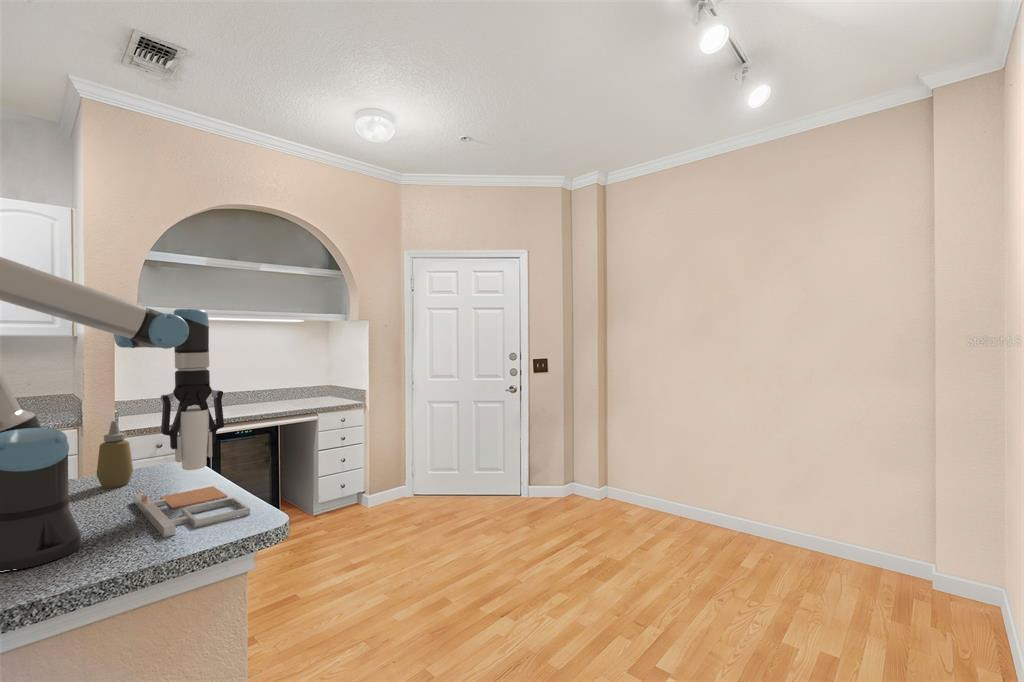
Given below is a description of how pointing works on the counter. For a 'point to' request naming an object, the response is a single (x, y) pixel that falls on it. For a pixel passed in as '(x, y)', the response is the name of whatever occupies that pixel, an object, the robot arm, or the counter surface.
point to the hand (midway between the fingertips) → (194, 458)
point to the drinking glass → (194, 438)
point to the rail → (188, 508)
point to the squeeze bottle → (114, 459)
